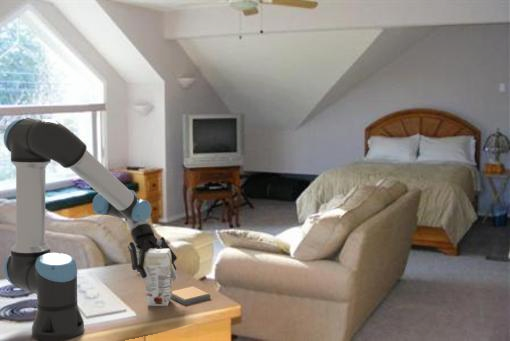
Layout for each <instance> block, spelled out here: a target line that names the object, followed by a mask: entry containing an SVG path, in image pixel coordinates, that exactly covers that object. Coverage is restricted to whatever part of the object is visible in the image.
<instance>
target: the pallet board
mask: <svg viewBox="0 0 510 341" xmlns="http://www.w3.org/2000/svg"><path fill="white" fill-rule="evenodd" d="M170 299H171V300H174V301H176V302H177V303H180V304H182V305H183V306H187V305H190V304H194V303H198V302H201V301H206V300H209V299H211V294H210V293H208V292H206V291H204V290H202V289H199V288H197V287H196V286H188V287H185V288H180V289H176V290H172V294H171V298H170Z"/></svg>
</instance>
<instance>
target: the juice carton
mask: <svg viewBox="0 0 510 341" xmlns="http://www.w3.org/2000/svg"><path fill="white" fill-rule="evenodd" d="M170 249H171V248H170ZM170 249H169V248H167V249H162V248H161V249H156V247H155V248H150V249H149V251H148V252H147V254H146V260H145V267H146V268H147V270H148V272H149V275H150V277H151V280H152V282H153V284H152V285H151V286H150V287H148V286H147V283H146V282H145V300H146V303H147V306H149V307H168V306H169V303H170V300H171V299H172V298H171V294H172V291H173V286H172V284H173V282H172V281H173V279H172V257H171V252H170Z"/></svg>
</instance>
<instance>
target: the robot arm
mask: <svg viewBox="0 0 510 341" xmlns="http://www.w3.org/2000/svg"><path fill="white" fill-rule="evenodd" d="M3 143H4V147H5V148H6V149H7V150H8V151H9V152H10V163H12V165H13V166H14V167H15V185H16V186H15V216H16V217H15V231H16V232H15V244H13V245H12V247H11V248H10V254H9V255H8V257H7V258H6V259H5V262H4V265H3V270H4V271H3V273H4V276H5V278H6V280H7V281H8V282H9V283H10V284H11V285H12V286H14V287H16V288H18V289H20V290H25V291H27V292H30V293H32V294H35V295H36V304H37V310H36V313H35V316H34V318H33V319H34V320H33V324H32V326H31V335H32V336H31V337H32V338H34V339H35V340H37V341H67V340H71V339H73V338H76V337H78V336H80V335H81V334H83V333H84V331H85V323H84V322H85V321H84V318H83V316H82V314H81V310H80V308H79V306H78V268H77V262H76V260H75V258H74V257H73V256H71V255H70V254H69V255H68V254H66V253H58V252H51V245H49V244H48V243H47V242H46V169H47V166H48V165H49V164H51V161H54V162H55V163H57V164H59V165H60V166H61V167H62V168H65V169H70V170H71V171H72V172H74V173H75V174H76V175H77V176H78V177H79V178H80V179H81V180H82V181H84V182H85V183H86V184H87V185H88V186H90V187H91V188H92V189H93V190H94V191H96V193H97V194H96V195H94V198H93V199H92V203H91V204H92V205H91V206H92V210H93V213H95V214H97V215H101V216H110V217H115V218H120V219H124V220H125V223H126V225H127V227H128V230H129V232H130V235H131V237H132V240H133V242H132V241H130V242H129V244H128V246H127V249H128V250H129V253H130V261H131V268H132V270H133V271H137V273H139V274H140V277H141V278H142V279H144V280H145V284H146V283H147V286H148V287H150V286H151V285H152V284H153V282H152V280H151V277H150V275H149V272H148V270H147V268H146V267H144V268H143V266H144V258H145V252H148V251H149V249H150V248H155V249H167V248H169V249H170V252H171V257H172V281H173V282H176V281H177V280H178V279H179V276H178V274H177V266H176V265H175V261H176V260H177V259H178V256H176V254H175V252H173V250H172V249H171V247H170V245H168V243H167V242H166V240H165V237H164V236H161V238H157V237H156V236H155V233H154V231H153V228H152V226H151V224H150V221H149V218H150V216H151V214H152V211H153V210H152V205H151V202H149V201H148V200H145V199H143V198H140V197H138V195H137V193H136V191H135V190H132V189H129V188H128V187H127V186H126V185H125V184H124V183H122V182H121V181H120V180H119V179H118V178H117V177H116V176H115V175H114V174H113V173H112V172H111V171H109V169H108V168H106V167H105V166H104V164H102V163H101V162H100V160H98V159H97V158H96V157H95V156H94V155H92V154H91V153H90V152H89V151H88V150H87V145H86V143H84V142H83V140H81V139H80V137H78V136H77V135H76V134H74V132H72V131H71V129H69V128H68V127H66V126H64V125H63V124H62V123H60V122H58V121H56V120H52V119H48V118H47V119H46V118H33V117H24V118H23V117H21V118H17V119H15V120H13V121H12V122H11V123H9V125H8V126H7V127H6V129H5V130H4V133H3ZM137 249H138V250H140V252H138V253H139V254H138V253H136V251H137ZM138 255H139V257H138ZM137 258H139V260H137Z"/></svg>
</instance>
